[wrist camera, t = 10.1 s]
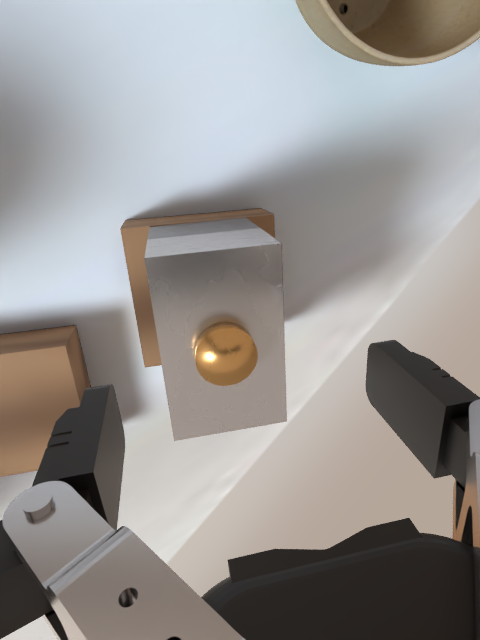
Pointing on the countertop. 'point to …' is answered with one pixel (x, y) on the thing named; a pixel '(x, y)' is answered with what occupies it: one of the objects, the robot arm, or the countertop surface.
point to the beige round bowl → (394, 28)
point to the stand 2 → (135, 252)
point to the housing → (218, 324)
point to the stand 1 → (36, 392)
